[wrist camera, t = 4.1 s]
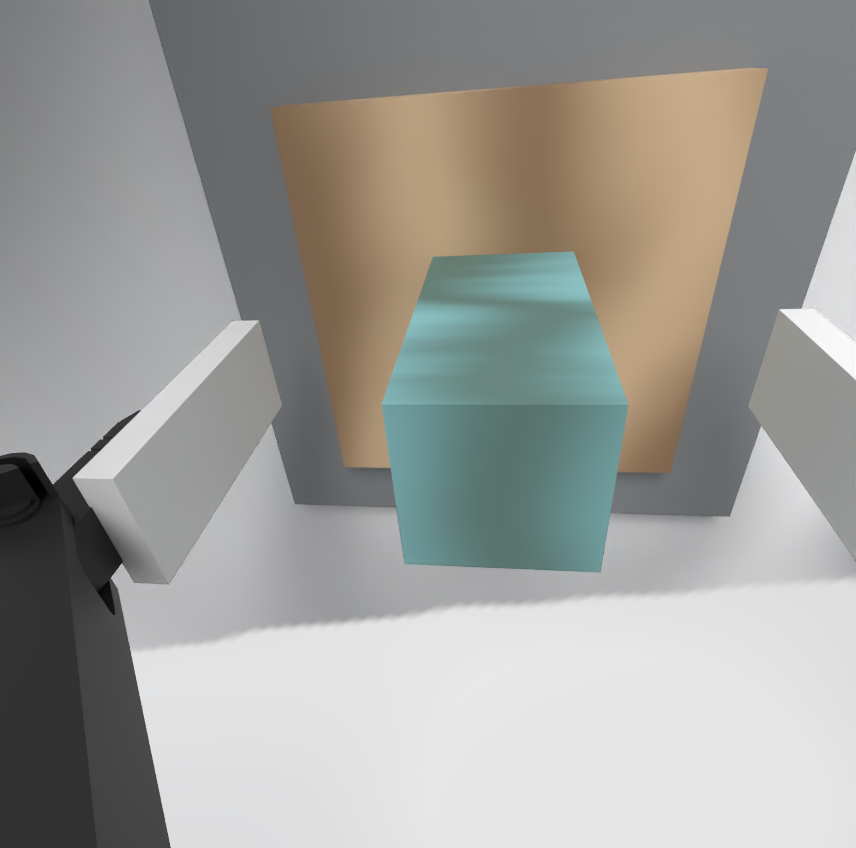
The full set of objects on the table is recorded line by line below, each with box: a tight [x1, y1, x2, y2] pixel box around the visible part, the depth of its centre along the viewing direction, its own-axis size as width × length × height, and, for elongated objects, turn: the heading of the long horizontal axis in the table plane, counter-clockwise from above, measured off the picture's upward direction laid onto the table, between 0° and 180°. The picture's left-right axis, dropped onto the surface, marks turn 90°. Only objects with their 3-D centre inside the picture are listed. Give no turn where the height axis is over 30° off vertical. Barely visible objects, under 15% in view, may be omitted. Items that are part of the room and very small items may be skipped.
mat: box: [149, 0, 856, 516], centre depth 18 cm, size 18×18×1 cm
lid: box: [270, 68, 768, 572], centre depth 13 cm, size 12×12×9 cm
